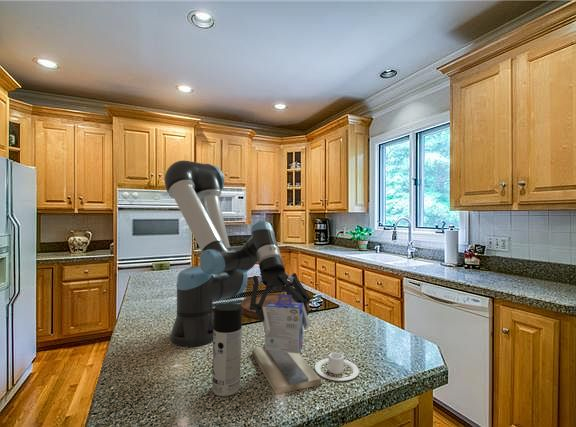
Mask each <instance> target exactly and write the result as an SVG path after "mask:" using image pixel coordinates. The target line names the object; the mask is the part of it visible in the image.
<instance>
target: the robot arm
mask: <svg viewBox="0 0 576 427" xmlns="http://www.w3.org/2000/svg"><path fill="white" fill-rule="evenodd" d="M225 182H226V181H225V175H224V173H223V172H222V170H221V169H220V168H219V167H218V166H216V165H213V164H210V163H201V162H195V161H191V160H178V161H175V162H173V163H172V164H171V165H169V167H168V168H167V169H166V171H165V174H164V186H165V189H166V192H167V194H168V196H169V197H170V198H172V199H173V200H175V203H176V205H177V207H178V208H179V211H180V212H181V214H182V216H183V218H184V221H185V222H186V224H187V226H188V228H189V230H190V232H191V234H192V236H193V238H194V239H195V241H196V243H197V245H198V248H199V250H200V251H201V253H200V255H199V259H198V261H199V263H200V264H199V265H198V266H196V265H195V266H189V267H187V268H184V269H182V270H181V271H180V272H179V273H178V275H177V280H176V318H175V320H174V322H173V326H172V329H171V332H170V341H171V343H172V344H174V345H176V346H180V347H197V346H203V345H205V344H206V345H207V344H209V343H211V342H213V331H214V328H213V327H214V312H213V303H215V302H219V301H222V300H225V299H229V298H234V297H236V296H238V295H240V294H242V293H243V292H244V291H245V289H246V287H247V285H248V271H249V270H251V269H252V268H254V266H255V265H256V264H257V263H258V268H259V271H260V272H259V273H260V276H257V275H254V276H253V277H252V280H251V284H252V292H251V296H250V297H251V302H250V310H256V313H257V314H258V319H257V320H258V321H259V323H262V326H263V330H264V336H265V335H268V334H269V332H270V326H269V322H268V317H267V313H266V308H265V307H263V308H262V306H263V303H264V301H265V298H266V296H267V294H269V292H270V290H271V291H275V290H276V291H278V290H282V291H283V292H285V293H287V295H292V298H293V299H294V300H295V301H296V302H297V303H303V330H307V329H308V328H309V327H310V325H311V322H310V320H309V317H308V316H309V314H310V312H309V311H310V310H309V311H308V308H307V305H306V304H308V305H309V303H310V301H311V300H312V297H311V296H310V294H309V293H308V291H307V290H306V289H305V286H304V285H303V284H302V283H301V281H300V280H299V278H298V275H297V273H296V272H292V274H288V273H287V272H286V268H285V266H284V262H283V261H284V260H283V259H282V255H281V251H280V248H279V246H278V242H277V239H276V235H275V234H276V233H275V231H274V229H273V225H272V224H271V223H269V221H266V220H265V221H263V220H260V221H257V222H255V223H253V225H252V226H251V228H250V234H251V237H249V239H248V240H247V241H246V242H245V243H244V244H243V245H242V246H241V245H239V246H231V245H230V242H229V237H228V233H227V228H226V224H225V220H224V219H225V218H224V216H223V211H222V206H221V202H220V197H221V195H222V190H224V187H225V185H224V184H225ZM261 283H262V284H263V285H264V286H265V287H264V290H263V292H262V294H261V295H262V297H261V299H260V301H259V304H256V298H257V295H258V289H259V285H260V284H261ZM291 284H292V285H291Z"/></svg>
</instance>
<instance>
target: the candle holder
mask: <svg viewBox="0 0 576 427" xmlns="http://www.w3.org/2000/svg"><path fill="white" fill-rule="evenodd" d="M327 363H328V364H327ZM324 364H327V366H328V372H330V373H331V374H333V375H341V374H343V373H344V371H345V365H347V366H348V367H349V368H351V370H352V373H351V374H350V375H349V376H346V377H345V376H344V377H336V376H335V377H334V376H332V375H331V376H330V375H327V374H326V373H324V372H323V371H322V369H321V368H322V366H323V365H324ZM314 371H315V372H316V374H317V375H318V376H320V377H322V378H325V379H328V380H331V381H336V382H345V381H350V380H354V379H355V378H357V377H358V376H359V374H360V369H359V367H358V366H357V365H356V364H355V363H353V362H352V361H349V360H347V359H345V357H344V354H342V353H340V352H330V353H329V354H328V357H326V358H323V359H321V360H318V361H317V362H316V363H315V365H314Z"/></svg>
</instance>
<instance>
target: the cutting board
mask: <svg viewBox="0 0 576 427" xmlns="http://www.w3.org/2000/svg"><path fill="white" fill-rule="evenodd" d="M280 294H281V293H268V294H267V296H266V298H265V301H264V303H263V306H262V308H263V307H265V306H267V305H268V303H269V302H278V300H279V295H280ZM261 297H262V294H257V298H256V304H259V301H260V299H261ZM281 300H289V298H288V297H282V298H281ZM250 302H251V296H249V297H246V298H244V299H242V300H241V302H240V303H239V305H241V307H242V316H243V315H244V316H246V317H249V318H252V319H256V320H259V319H258V314H257V313H256V310H250ZM291 302H292V303H297V302H296V301H295V300H294V299H293V298H292V300H291ZM306 305H307V308H308V311H310V310H309V309H311V308H310V305H309V303H308V304H306Z"/></svg>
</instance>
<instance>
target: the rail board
mask: <svg viewBox="0 0 576 427" xmlns="http://www.w3.org/2000/svg"><path fill="white" fill-rule="evenodd" d="M251 351H252V352H251V353H252V355H253V358H254V359H255V361H256V363H257V364H258V366H259V369H260V370H261V371H262V373H263V375H264V377H265V378H266V380H267V382H268V384H269V385H270V387H271V389H272V390H273V392H274V394H275V395H280V394H283V393H289V392H293V391H299V390H302V389H308V388H312V387H316V386H322V378H321V376H320V375H319V374H318V373H317V372H316V370H315V369H313V368H312V367H311V366H310V364H309V363H308V362H307V361H306V360H305V359H304V357H303V356H301V354H300V353H289V352H279V351H269V350H265V343H263V344H262V346H259V347H252V350H251Z"/></svg>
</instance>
